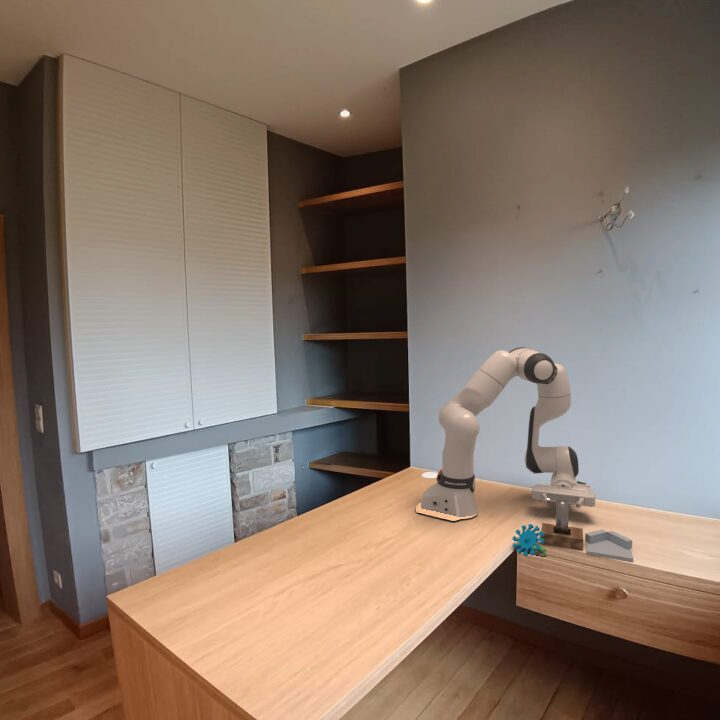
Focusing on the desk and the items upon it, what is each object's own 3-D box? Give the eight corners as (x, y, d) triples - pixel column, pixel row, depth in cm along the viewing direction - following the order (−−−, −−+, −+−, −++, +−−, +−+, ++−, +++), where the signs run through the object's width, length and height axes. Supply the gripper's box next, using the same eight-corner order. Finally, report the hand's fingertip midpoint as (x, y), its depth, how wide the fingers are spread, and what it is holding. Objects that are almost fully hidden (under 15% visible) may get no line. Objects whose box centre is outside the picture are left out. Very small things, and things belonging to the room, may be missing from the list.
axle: (555, 543, 150) (556, 502, 149) (555, 538, 153) (556, 498, 152) (567, 545, 148) (568, 504, 147) (568, 540, 152) (568, 500, 150)
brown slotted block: (540, 543, 149) (540, 533, 149) (542, 533, 157) (542, 522, 156) (583, 550, 145) (583, 539, 144) (582, 539, 152) (582, 528, 152)
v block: (585, 554, 143) (585, 542, 142) (584, 536, 153) (584, 526, 153) (634, 562, 137) (635, 550, 137) (630, 543, 148) (630, 532, 148)
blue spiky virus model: (504, 541, 148) (525, 516, 149) (514, 551, 150) (534, 526, 152) (530, 563, 138) (552, 536, 139) (539, 572, 140) (561, 546, 142)
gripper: (532, 477, 177) (529, 490, 164) (594, 484, 169) (596, 498, 156) (532, 494, 178) (529, 508, 165) (593, 501, 169) (595, 517, 157)
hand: (562, 503), depth 160 cm, fingers open, 8 cm apart
